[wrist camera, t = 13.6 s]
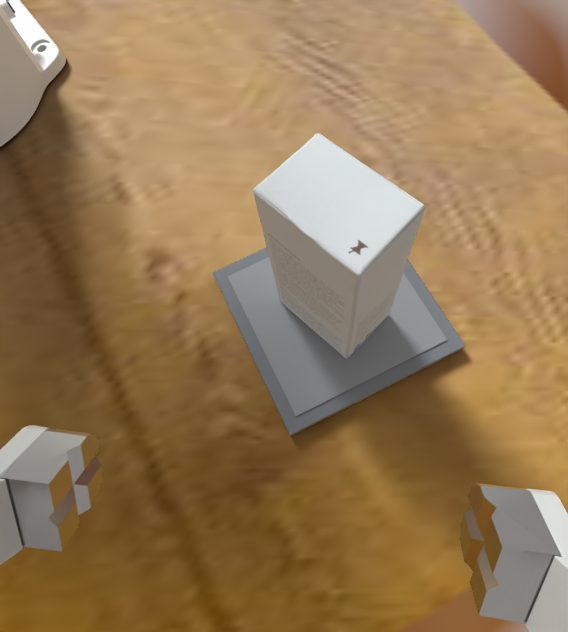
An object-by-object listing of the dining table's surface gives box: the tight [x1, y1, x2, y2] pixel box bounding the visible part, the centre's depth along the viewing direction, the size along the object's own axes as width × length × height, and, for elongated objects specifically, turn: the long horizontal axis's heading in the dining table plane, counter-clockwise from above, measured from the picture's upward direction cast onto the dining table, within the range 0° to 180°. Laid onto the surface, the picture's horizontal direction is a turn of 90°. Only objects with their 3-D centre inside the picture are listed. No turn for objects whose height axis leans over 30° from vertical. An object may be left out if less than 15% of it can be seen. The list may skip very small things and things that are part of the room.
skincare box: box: [253, 133, 425, 359], centre depth 24 cm, size 6×4×12 cm
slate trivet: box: [213, 247, 465, 436], centre depth 30 cm, size 12×12×1 cm
